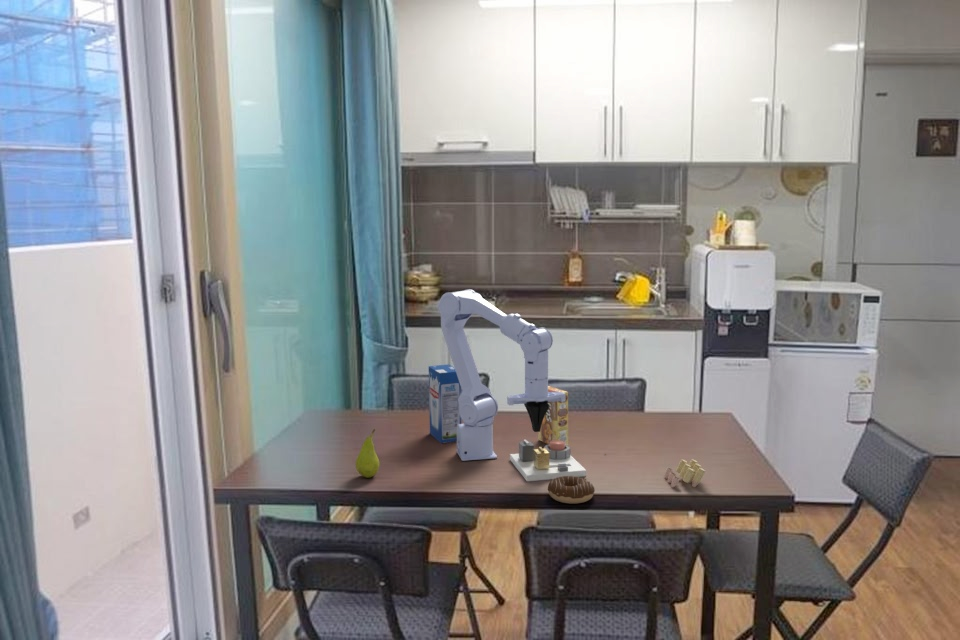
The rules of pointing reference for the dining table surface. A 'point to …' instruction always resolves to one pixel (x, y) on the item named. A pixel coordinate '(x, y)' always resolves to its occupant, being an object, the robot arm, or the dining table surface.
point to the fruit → (367, 459)
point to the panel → (550, 466)
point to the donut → (570, 489)
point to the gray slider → (526, 451)
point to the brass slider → (541, 458)
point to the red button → (557, 445)
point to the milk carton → (444, 402)
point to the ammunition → (685, 473)
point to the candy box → (555, 420)
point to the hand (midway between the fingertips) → (536, 430)
